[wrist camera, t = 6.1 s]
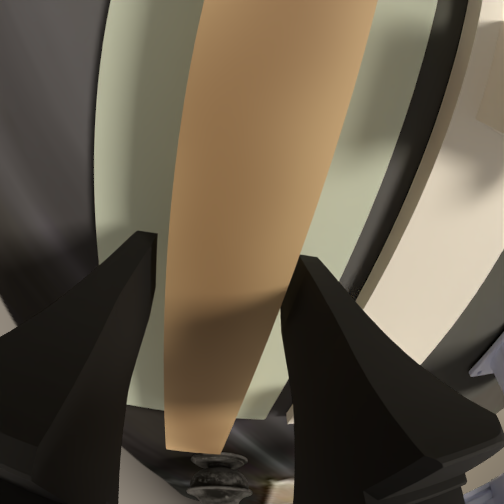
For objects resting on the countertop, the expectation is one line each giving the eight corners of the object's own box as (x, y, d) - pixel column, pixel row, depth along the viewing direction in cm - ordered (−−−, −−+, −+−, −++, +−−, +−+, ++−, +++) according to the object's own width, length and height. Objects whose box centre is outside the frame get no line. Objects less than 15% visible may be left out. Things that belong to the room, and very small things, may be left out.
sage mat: (441, -68, 5) (449, -71, 4) (264, 412, 19) (264, 419, 19) (163, -137, 3) (160, -144, 3) (124, 397, 18) (123, 403, 17)
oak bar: (360, -95, 4) (403, -131, 2) (220, 410, 18) (220, 454, 15) (255, -121, 4) (263, -172, 1) (170, 404, 17) (166, 449, 15)
